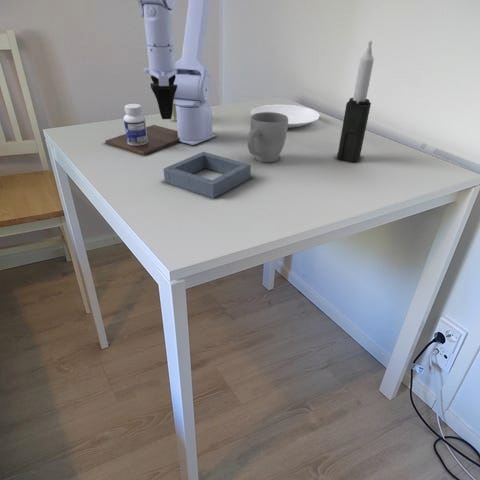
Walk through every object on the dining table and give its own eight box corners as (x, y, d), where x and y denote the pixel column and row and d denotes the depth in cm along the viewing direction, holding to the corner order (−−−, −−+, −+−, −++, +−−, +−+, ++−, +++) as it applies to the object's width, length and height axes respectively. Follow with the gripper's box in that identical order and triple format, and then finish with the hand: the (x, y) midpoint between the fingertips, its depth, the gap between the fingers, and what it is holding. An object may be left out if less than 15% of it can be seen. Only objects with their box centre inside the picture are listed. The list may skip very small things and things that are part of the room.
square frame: (203, 164, 102) (203, 151, 100) (250, 178, 96) (250, 164, 94) (164, 182, 93) (163, 168, 91) (213, 198, 88) (213, 184, 86)
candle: (360, 156, 108) (384, 40, 92) (356, 163, 105) (380, 43, 89) (341, 153, 110) (361, 38, 94) (336, 159, 106) (356, 41, 90)
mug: (263, 149, 110) (265, 109, 104) (291, 158, 106) (295, 117, 100) (233, 162, 103) (234, 120, 97) (262, 171, 99) (265, 128, 93)
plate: (246, 112, 137) (246, 104, 136) (309, 111, 139) (310, 104, 138) (255, 132, 122) (255, 123, 120) (326, 131, 124) (327, 123, 122)
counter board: (154, 127, 123) (153, 124, 122) (191, 137, 117) (190, 134, 116) (105, 143, 111) (105, 140, 111) (143, 155, 105) (143, 152, 105)
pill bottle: (128, 139, 112) (123, 102, 106) (148, 139, 112) (144, 102, 106) (126, 146, 108) (120, 108, 102) (147, 146, 108) (142, 108, 102)
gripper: (141, 39, 95) (149, 106, 103) (140, 50, 84) (148, 123, 92) (173, 39, 96) (178, 105, 104) (176, 50, 85) (181, 122, 93)
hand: (166, 114), depth 98 cm, fingers open, 7 cm apart
